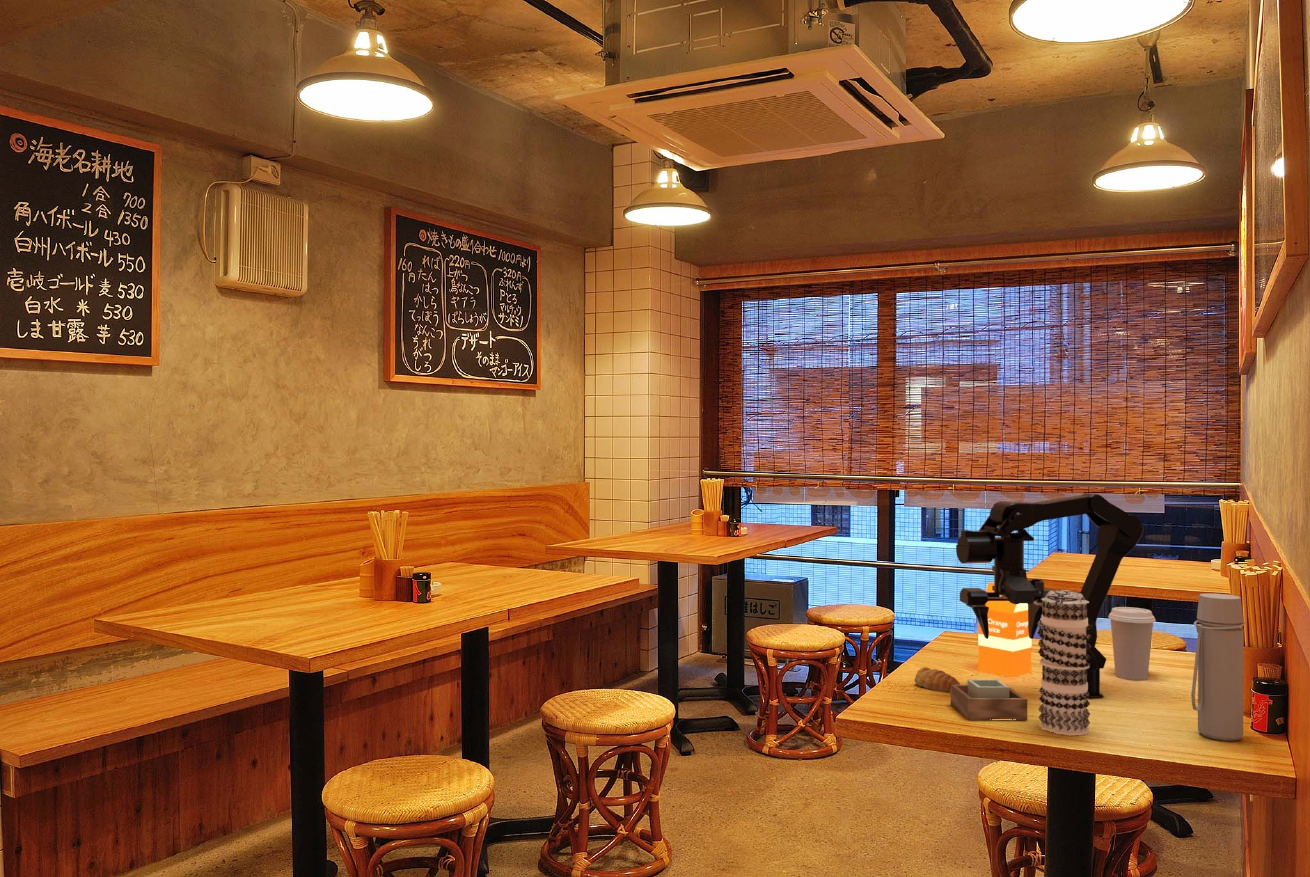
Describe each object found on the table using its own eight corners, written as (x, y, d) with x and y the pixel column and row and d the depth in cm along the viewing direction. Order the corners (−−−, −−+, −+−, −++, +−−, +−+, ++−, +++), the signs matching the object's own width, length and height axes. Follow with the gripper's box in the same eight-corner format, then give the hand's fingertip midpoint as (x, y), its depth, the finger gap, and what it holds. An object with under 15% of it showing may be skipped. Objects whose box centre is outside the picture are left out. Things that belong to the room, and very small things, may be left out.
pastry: (967, 690, 205) (967, 672, 205) (948, 695, 201) (948, 677, 201) (930, 681, 212) (930, 664, 212) (910, 686, 208) (910, 668, 208)
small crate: (997, 705, 191) (997, 679, 191) (1009, 713, 185) (1009, 687, 185) (967, 704, 191) (967, 679, 191) (977, 713, 185) (978, 687, 185)
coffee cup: (1109, 679, 214) (1109, 611, 214) (1106, 670, 223) (1107, 605, 223) (1157, 683, 211) (1157, 615, 211) (1153, 674, 220) (1153, 608, 220)
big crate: (1005, 704, 193) (1005, 684, 193) (1027, 720, 182) (1027, 699, 182) (950, 704, 193) (950, 684, 193) (969, 720, 182) (969, 699, 182)
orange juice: (1013, 678, 215) (1013, 588, 215) (977, 671, 222) (978, 583, 222) (1031, 673, 220) (1032, 585, 220) (996, 666, 227) (997, 580, 227)
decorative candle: (1046, 718, 184) (1046, 586, 184) (1098, 727, 178) (1098, 591, 178) (1029, 729, 177) (1030, 592, 177) (1083, 739, 171) (1083, 597, 171)
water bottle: (1222, 728, 177) (1222, 592, 178) (1255, 742, 170) (1255, 599, 170) (1177, 731, 176) (1177, 593, 176) (1208, 744, 168) (1209, 600, 168)
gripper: (977, 567, 191) (977, 646, 191) (1071, 567, 192) (1071, 646, 192) (958, 560, 203) (958, 635, 202) (1047, 560, 203) (1047, 635, 203)
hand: (1008, 638), depth 200 cm, fingers open, 9 cm apart
